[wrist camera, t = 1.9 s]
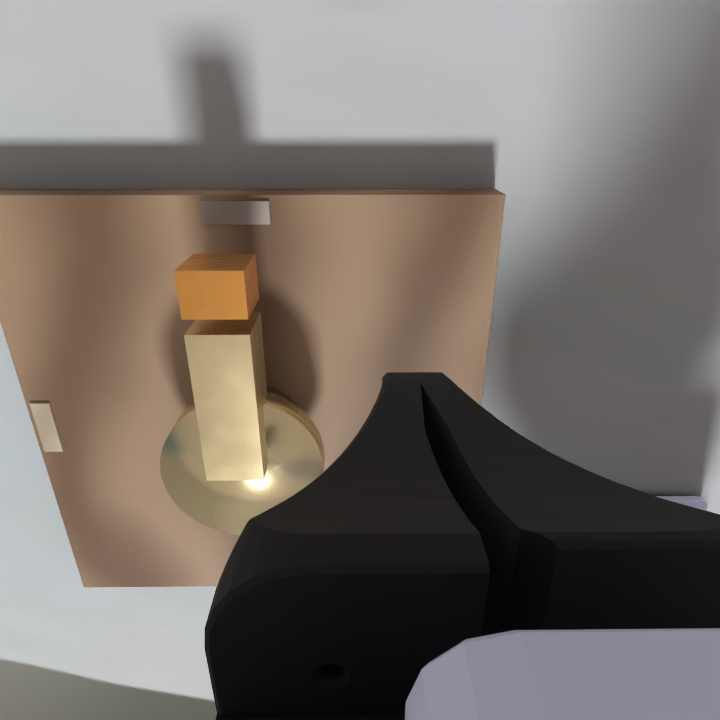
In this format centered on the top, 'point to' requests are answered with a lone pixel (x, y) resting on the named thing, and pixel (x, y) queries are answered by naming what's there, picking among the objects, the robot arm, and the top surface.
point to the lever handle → (232, 405)
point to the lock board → (166, 329)
